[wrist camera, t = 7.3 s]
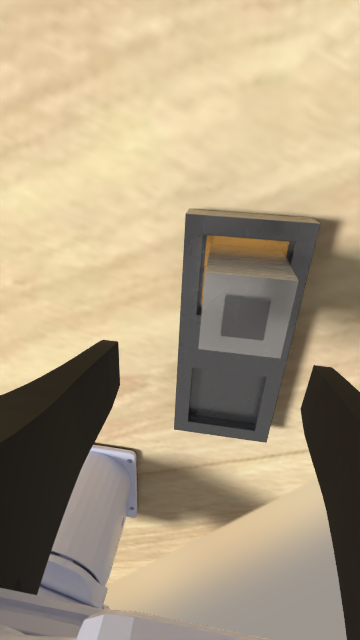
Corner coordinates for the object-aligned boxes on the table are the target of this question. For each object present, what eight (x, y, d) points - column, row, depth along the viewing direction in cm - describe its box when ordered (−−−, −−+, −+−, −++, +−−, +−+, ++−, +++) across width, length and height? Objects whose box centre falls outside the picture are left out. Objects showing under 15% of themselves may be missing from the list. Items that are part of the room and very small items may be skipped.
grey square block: (269, 313, 20) (281, 360, 15) (205, 306, 20) (198, 351, 16) (281, 250, 18) (299, 282, 13) (211, 244, 18) (204, 273, 14)
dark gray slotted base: (264, 424, 25) (266, 442, 24) (177, 412, 26) (174, 429, 25) (312, 217, 18) (320, 223, 16) (189, 208, 19) (185, 213, 17)
